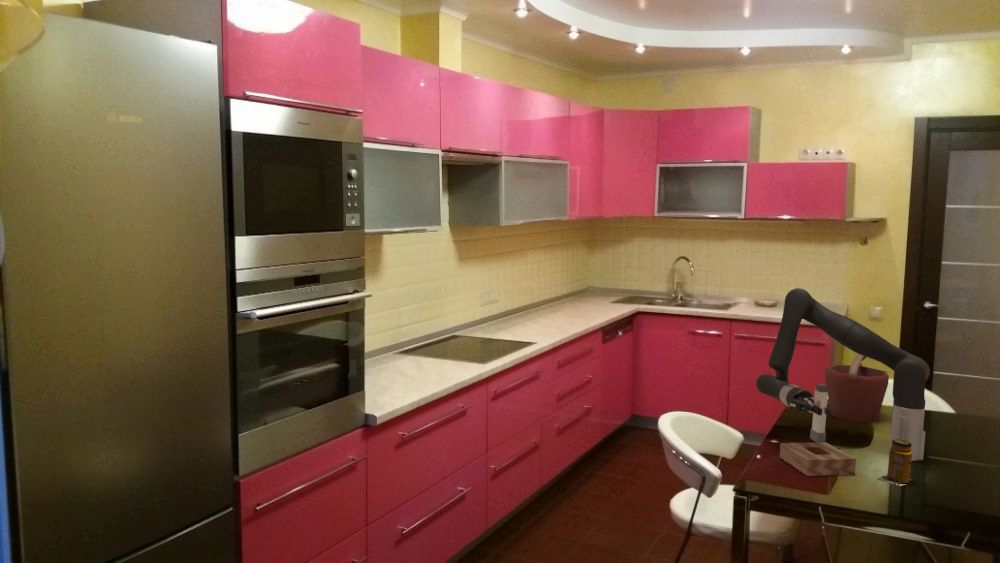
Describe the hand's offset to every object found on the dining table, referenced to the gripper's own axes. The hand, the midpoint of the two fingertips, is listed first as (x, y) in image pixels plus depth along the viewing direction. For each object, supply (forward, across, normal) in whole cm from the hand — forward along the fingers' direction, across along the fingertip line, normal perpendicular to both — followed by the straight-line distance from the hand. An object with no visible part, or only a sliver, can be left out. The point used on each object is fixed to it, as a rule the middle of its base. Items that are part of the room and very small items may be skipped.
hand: (825, 412), depth 232 cm
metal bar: (-3, 0, +10) cm, 10 cm away
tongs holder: (-2, -1, +18) cm, 18 cm away
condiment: (+11, +18, +18) cm, 28 cm away
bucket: (-55, +48, +18) cm, 75 cm away
